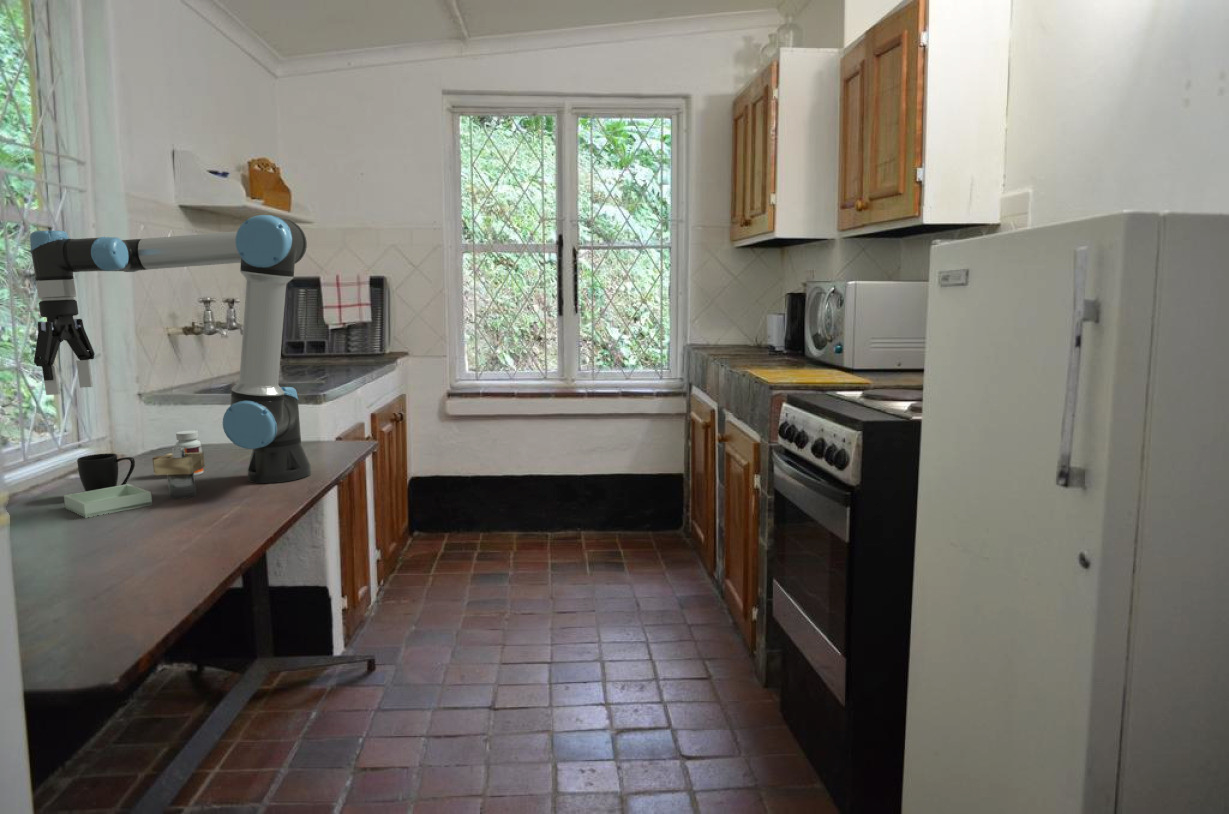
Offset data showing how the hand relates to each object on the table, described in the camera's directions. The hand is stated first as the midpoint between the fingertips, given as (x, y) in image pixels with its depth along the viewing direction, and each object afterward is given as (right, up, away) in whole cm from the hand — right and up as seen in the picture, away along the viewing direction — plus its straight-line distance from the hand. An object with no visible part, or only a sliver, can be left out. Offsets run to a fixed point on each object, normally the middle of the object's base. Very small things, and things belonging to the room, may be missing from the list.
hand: (70, 390), depth 206 cm
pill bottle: (+16, -22, +26) cm, 37 cm away
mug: (+7, -25, +5) cm, 26 cm away
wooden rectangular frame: (+25, -19, +1) cm, 31 cm away
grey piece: (+25, -25, +2) cm, 35 cm away
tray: (+13, -26, -7) cm, 30 cm away
